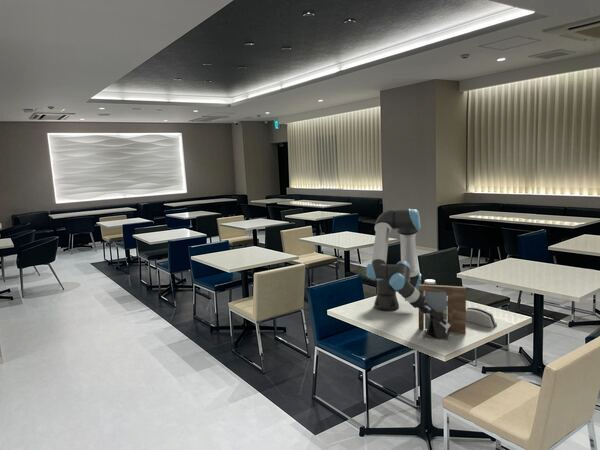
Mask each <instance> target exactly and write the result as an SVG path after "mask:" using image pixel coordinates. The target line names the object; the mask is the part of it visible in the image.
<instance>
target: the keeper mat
mask: <svg viewBox="0 0 600 450" xmlns="http://www.w3.org/2000/svg"><path fill="white" fill-rule="evenodd" d="M426 332H427V330H425V331H424V336H423V339H427V340H438V341H449V340H450V333H447V332H446V334H447V337H446V338H441V339H436V338H434V337H432V336H430V335H428V334H426Z"/></svg>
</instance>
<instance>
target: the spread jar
mask: <svg viewBox="0 0 600 450" xmlns="http://www.w3.org/2000/svg"><path fill="white" fill-rule="evenodd" d="M423 285H437V283H436V280H435V279H431V278H430V279H424V283H423ZM424 297H425V290H424Z"/></svg>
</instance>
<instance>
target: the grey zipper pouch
mask: <svg viewBox="0 0 600 450" xmlns="http://www.w3.org/2000/svg"><path fill="white" fill-rule="evenodd" d="M466 322H469V323H474V324H478V325H480V326H483V325H484V327H487V328H490V329H491V328H492V329H494V326H496V327H498V323H497V322H496V321H495V317H494V315H493V313H492V312H490V311H488V310H486V309H483V308H482V307H481V308H480V307H475V306H470V307H466Z"/></svg>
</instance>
